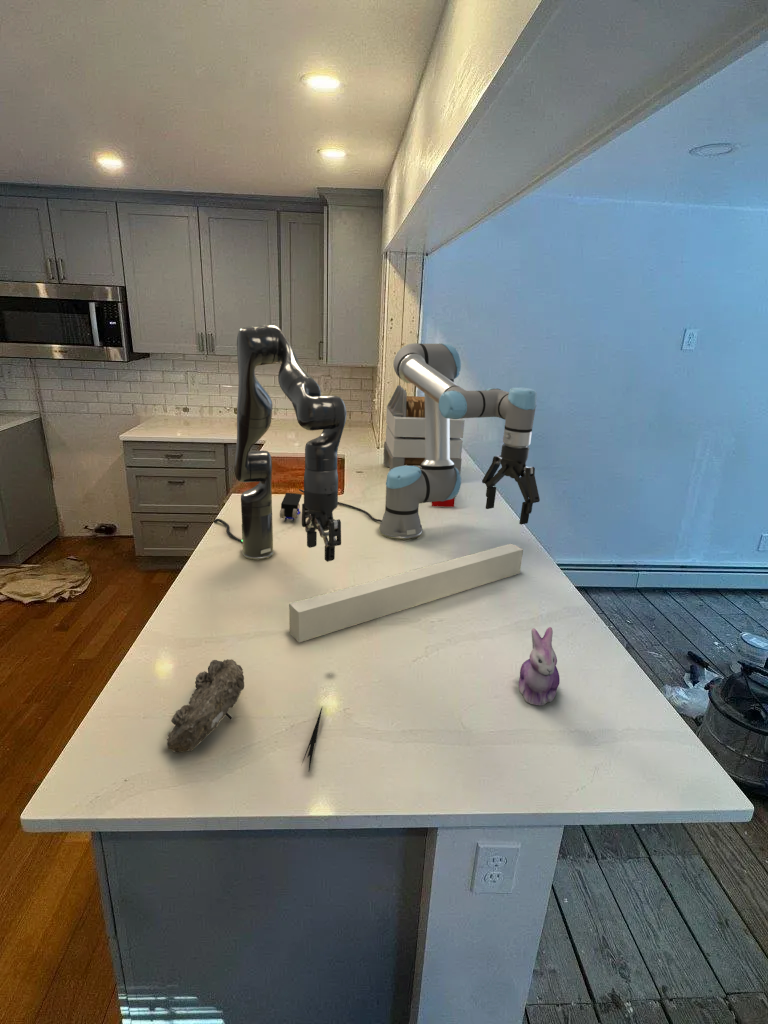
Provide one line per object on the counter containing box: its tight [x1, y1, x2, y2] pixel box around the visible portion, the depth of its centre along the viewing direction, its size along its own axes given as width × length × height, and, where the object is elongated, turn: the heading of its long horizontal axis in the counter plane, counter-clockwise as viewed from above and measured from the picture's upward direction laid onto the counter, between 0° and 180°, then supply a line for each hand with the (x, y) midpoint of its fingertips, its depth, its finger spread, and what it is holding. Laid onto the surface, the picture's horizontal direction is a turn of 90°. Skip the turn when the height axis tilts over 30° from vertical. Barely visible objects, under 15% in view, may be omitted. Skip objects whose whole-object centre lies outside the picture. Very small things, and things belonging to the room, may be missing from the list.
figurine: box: [518, 626, 561, 706], centre depth 117 cm, size 9×10×15 cm
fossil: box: [166, 658, 245, 754], centre depth 106 cm, size 22×10×15 cm
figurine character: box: [279, 492, 302, 523], centre depth 209 cm, size 7×8×15 cm
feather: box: [301, 673, 332, 771], centre depth 108 cm, size 2×28×2 cm
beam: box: [288, 543, 524, 644], centre depth 154 cm, size 75×5×8 cm, turn 125°
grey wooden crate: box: [383, 384, 465, 476], centre depth 268 cm, size 34×33×41 cm
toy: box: [431, 496, 456, 508], centre depth 240 cm, size 12×13×30 cm
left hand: (320, 553), depth 131 cm, fingers open, 8 cm apart
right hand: (506, 515), depth 166 cm, fingers open, 13 cm apart
